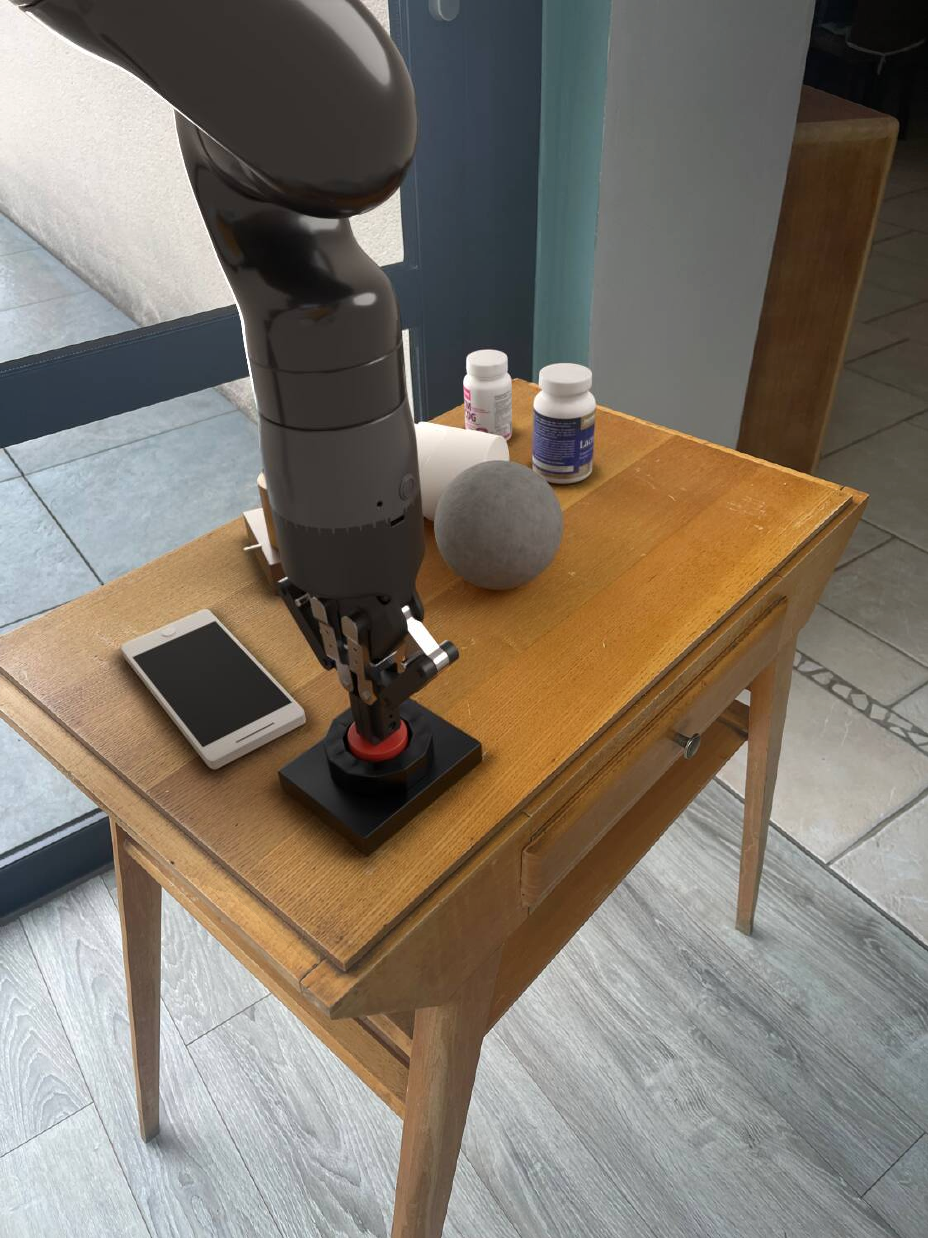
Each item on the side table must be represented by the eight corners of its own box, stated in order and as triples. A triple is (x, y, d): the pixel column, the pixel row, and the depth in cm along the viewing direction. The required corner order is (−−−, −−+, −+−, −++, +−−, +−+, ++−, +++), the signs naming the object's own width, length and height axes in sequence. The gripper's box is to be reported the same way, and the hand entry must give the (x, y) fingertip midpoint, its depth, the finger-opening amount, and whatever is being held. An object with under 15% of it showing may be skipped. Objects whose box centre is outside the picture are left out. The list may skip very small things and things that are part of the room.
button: (378, 783, 56) (375, 763, 55) (338, 754, 58) (335, 734, 57) (421, 750, 58) (419, 730, 57) (381, 723, 60) (378, 703, 59)
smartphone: (209, 615, 73) (206, 606, 72) (308, 722, 63) (306, 711, 62) (121, 654, 70) (117, 644, 69) (212, 772, 60) (209, 762, 59)
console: (264, 609, 74) (257, 576, 72) (234, 545, 81) (227, 514, 79) (398, 571, 77) (394, 539, 75) (357, 513, 84) (353, 482, 83)
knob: (334, 530, 77) (324, 467, 73) (299, 557, 74) (288, 493, 70) (292, 517, 79) (281, 455, 75) (257, 542, 76) (244, 479, 72)
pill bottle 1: (455, 437, 95) (452, 358, 90) (486, 421, 98) (484, 343, 93) (490, 451, 93) (489, 370, 88) (521, 434, 95) (521, 354, 90)
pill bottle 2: (591, 487, 86) (597, 385, 80) (530, 485, 87) (530, 384, 81) (592, 457, 91) (598, 359, 85) (534, 456, 92) (535, 358, 86)
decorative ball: (563, 615, 71) (567, 502, 65) (433, 615, 72) (425, 503, 66) (559, 543, 79) (562, 436, 73) (442, 544, 80) (435, 438, 74)
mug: (476, 550, 79) (473, 466, 74) (376, 532, 82) (367, 450, 77) (521, 483, 88) (521, 403, 83) (429, 468, 91) (424, 391, 86)
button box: (367, 857, 54) (361, 818, 52) (281, 789, 59) (272, 750, 56) (482, 761, 60) (481, 722, 58) (396, 705, 64) (391, 667, 62)
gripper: (203, 471, 48) (262, 717, 58) (380, 564, 40) (411, 826, 51) (316, 419, 52) (352, 657, 63) (494, 495, 45) (501, 750, 55)
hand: (378, 733), depth 57 cm, fingers closed
